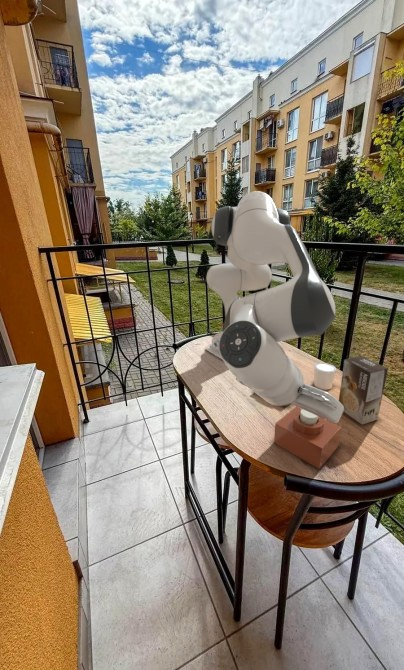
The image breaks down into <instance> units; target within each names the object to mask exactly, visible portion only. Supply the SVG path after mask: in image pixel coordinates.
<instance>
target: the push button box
mask: <svg viewBox="0 0 404 670" xmlns="http://www.w3.org/2000/svg"><path fill="white" fill-rule="evenodd" d="M301 410H302V409H301V408H299V407H297V406H295V407H294V408H292V409H291V410H290V411H289V412H288V413H286V414H285V415H284V416H283V417H281V418H280V419H279V420H278V421H276V422H275V423H274V438H273V443H274V444H276V445H278V446H279V447H281V448H282V449H284V450H286V451H288V452H289V453H291V454H293V455H295V456H296V457H298V458H299V459H301V460H303V461H304V462H306V463H308V464H309V465H311V466H313V467H315V469H318V470H320V469H321V468H322V466H323V465H324V464H325V463H326V462H327V461H328V460H329V458H330V457H331V456H332V455H333V453H335V451H336V450H337V449H338V448H339V445H340V438H341V433H342V426H340V425H338V424H337V423H333V422H330V421H328V420H326V419H323V418H321V417H319V416H318V420H317V423H316V424H313V425H310V424H306V423H304V422H301V420H300V412H301Z"/></svg>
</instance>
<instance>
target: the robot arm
mask: <svg viewBox="0 0 404 670" xmlns="http://www.w3.org/2000/svg"><path fill="white" fill-rule="evenodd" d="M210 225H211V226H210V230H211V235H212V237H213V241H214V242H215V243H216V244H218V245H220V246H223V247H227V259H228V260H229V263H219V264H215V265H212V266H211V267H210V268H209V269H207V272H206V277H205V279H206V283H207V286H208V287H209V289H210V290H211V291H213V292H214V293H215V294H217V295H218V297H219V298H220V300H221V301H222V304H223V307H224V316H225V318H224V322H223V323H221V324H220V327H221V328H222V329H221V330H220V331H219V332H217V333H213V332H211V330H210V329H206V332H208V334H209V335H211V336H212V338H211V344H208V346H206V347H205V348H206V351H208V352H209V353H211V354H212V355H214V356H215V357H217V358H219V359H221V360H222V362H223V363H224V365H225V366H226V368H227V369H228V370H229V372H230V373H231V374H232V375H233V377H235V380H236V381H237V382H238V383H240V384H241V385H243V386H245V387H247V388H248V389H250V390H252V392H253V393H254V392H255V393H254V394H256V395H257V396H258V397H260V398H261V399H262V400H264V401H265V402H266V403H268V404H270V405H272V406H277V407H283V406H282V405H287V404H289V403H290V405H293V406H295V407H296V406H297V407H299V408H301V409H304V410H306V411H308V412H310V413H312V414H315V415H317V416H319V417H321V418H323V419H325V420H327V421H330V422H332V423H334V424H338V423H339V422H340V419H341V418H342V416H343V413H344V411H343V410H344V406H343V405H342V404H341V403H340V402H339V399H338V398H337V397H335V396H334V395H333V394H331V393H329V392H327V391H326V390H324V389H319V388H317V387H316V386H312V385H310V384H307V383H304V376H303V373H302V371H301V369H300V368H299V367H298V366H297V365H296V364H295V362H294V361H293V360H292V359H291V357H290V356H289V355H288V354H287V353H286V351H285V350H284V348H283V347H282V346H281V345H280V344H279V343H280V342H281V343H282V342H284V341H289V340H293V339H298V338H308V337H314V336H315V337H316V336H322V335H323V334H324V333H325V332H326V331H327V330H328V329H329V327H330V326H331V325H332V323H333V322H334V321H335V319H336V311H337V309H336V304H335V300H334V299H335V298H334V296H333V294H332V292H331V290H330V288H329V287H328V286H327V284H326V283H325V282H324V281H323V280H322V278H321V277H320V275H319V273H318V271H317V269H316V267H315V264H314V263H313V260H312V258H311V257H310V254H309V252H308V250H307V248H306V245H305V244H304V242H303V241H302V238H301V237H300V235H299V233H298V232H297V230H296V229H295V228H294V227H293V226H292V221H291V216H290V214H289V213H288V211H287V210H284V209H282V208H277V207H276V205H275V202H274V201H273V198H272V197H271V196H270V195H269V194H267V193H266V192H264V191H258V190H257V191H256V190H255V191H251V192H248V193H247V194H245V195H243V196H242V198H241V199H240V200H239V202H238V203H237V206H230V205H226V206H222V207H220V208H218V209H217V210H216V211H215V213H214V215H213V217H212V220H211V223H210ZM272 264H287V265H288V266H289V269H290V272H291V273H292V274H291V275H292V277H291V278H290V279H289V280H287V281H286V282H284V283H281V284H278V285H275V286H273V287H272V286H271V287H269V286H270V284H271V282H272V279H273V273H272V269H271V267H270V265H272ZM267 287H269V288H267ZM262 289H264V290H262ZM258 290H261V291H258ZM249 291H250V292H251V291H257V292H254V293H251V294H247V295H245V296H243V297H240V296H239V295H238V292H249Z"/></svg>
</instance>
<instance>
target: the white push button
mask: <svg viewBox="0 0 404 670" xmlns="http://www.w3.org/2000/svg"><path fill="white" fill-rule="evenodd" d="M300 420H301V422H304V423H306V424H310V425H313V424H316V423H317V420H318V416H317V415H315V414H312V413H310V412H308V411H306V410H304V409H302V410H301V412H300Z"/></svg>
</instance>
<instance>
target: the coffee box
mask: <svg viewBox="0 0 404 670" xmlns="http://www.w3.org/2000/svg"><path fill="white" fill-rule="evenodd" d="M388 371H389V368H388V367H386V366H384V365H382V364H379V363H377V362H375V361H373V360H371V359H369V358H367V357H364V356H362V355H357V356H353V357H352V356H351V357H349V358H346V359H344V360H343V368H342V375H341V382H340V388H339V389H340V390H339V395H338V401H339V402H340V403H341V404H342V405H343V406H344V410H343V413H345V414H346V415H348V416H349V417H351V418H352V419H353V420H355V421H356V422H357V423H359V424H360V425H365V424H368V423H371V422H374V421H378V420H379V415H380V409H381V404H382V401H383V400H382V399H383V396H384V391H385V385H386V382H387V381H386V380H387V377H388V376H387V375H388Z"/></svg>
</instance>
